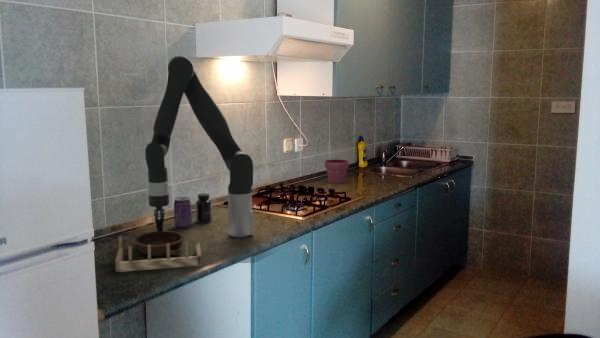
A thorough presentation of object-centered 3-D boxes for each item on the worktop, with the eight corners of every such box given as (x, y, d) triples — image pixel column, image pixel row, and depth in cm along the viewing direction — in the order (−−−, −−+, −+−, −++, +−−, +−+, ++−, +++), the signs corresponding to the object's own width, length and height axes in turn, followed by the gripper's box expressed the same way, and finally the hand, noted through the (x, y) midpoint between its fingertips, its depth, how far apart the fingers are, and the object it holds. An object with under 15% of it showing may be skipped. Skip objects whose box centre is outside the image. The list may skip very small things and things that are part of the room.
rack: (199, 250, 192) (198, 229, 190) (201, 265, 177) (200, 242, 176) (119, 256, 185) (118, 234, 184) (115, 272, 171) (114, 248, 170)
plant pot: (326, 179, 323) (326, 158, 320) (349, 180, 320) (349, 159, 318) (322, 183, 309) (323, 162, 307) (346, 185, 306) (347, 163, 304)
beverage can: (182, 223, 227) (181, 195, 225) (195, 225, 223) (194, 198, 221) (171, 227, 221) (169, 199, 219) (183, 229, 217) (182, 201, 215)
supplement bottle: (209, 223, 226) (208, 196, 224) (193, 223, 227) (192, 195, 225) (214, 219, 233) (213, 193, 231) (199, 218, 234) (198, 192, 232)
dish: (161, 239, 206) (160, 226, 205) (198, 251, 192) (198, 237, 192) (121, 250, 192) (120, 237, 192) (159, 264, 179) (158, 250, 178)
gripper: (168, 196, 195) (170, 241, 198) (168, 188, 208) (170, 231, 211) (147, 197, 193) (149, 242, 197) (149, 189, 206) (151, 232, 209)
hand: (160, 236), depth 204 cm, fingers closed
